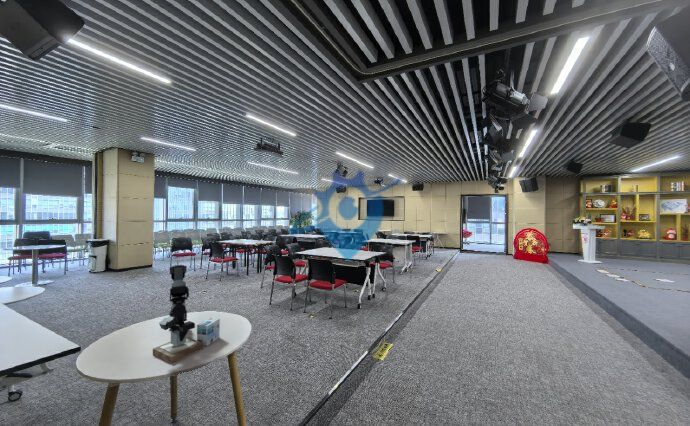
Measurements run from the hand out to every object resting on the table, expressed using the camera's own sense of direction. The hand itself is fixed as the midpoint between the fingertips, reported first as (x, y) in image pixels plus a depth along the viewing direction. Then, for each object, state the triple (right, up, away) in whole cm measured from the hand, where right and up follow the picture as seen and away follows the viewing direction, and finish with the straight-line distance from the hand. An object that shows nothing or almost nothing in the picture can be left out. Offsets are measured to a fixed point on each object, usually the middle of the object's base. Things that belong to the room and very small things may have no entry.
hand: (178, 339), depth 142 cm
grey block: (0, -2, 0) cm, 2 cm away
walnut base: (0, -6, 0) cm, 6 cm away
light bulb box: (+10, -6, +12) cm, 17 cm away
